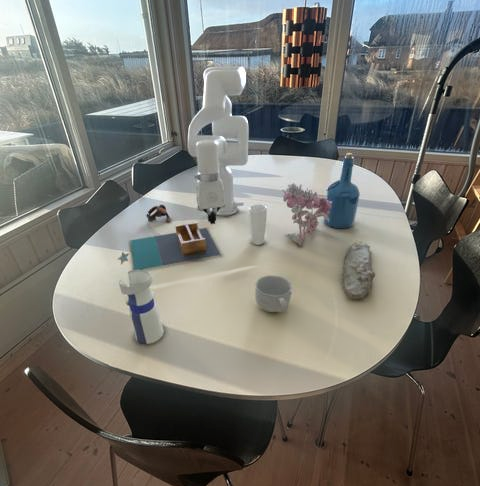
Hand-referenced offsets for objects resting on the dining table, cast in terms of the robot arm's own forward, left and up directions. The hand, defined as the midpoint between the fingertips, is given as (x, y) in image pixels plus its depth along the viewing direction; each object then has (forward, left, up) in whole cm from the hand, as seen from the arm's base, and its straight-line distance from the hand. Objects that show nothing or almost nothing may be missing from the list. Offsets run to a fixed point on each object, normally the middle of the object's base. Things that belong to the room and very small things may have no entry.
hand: (212, 222), depth 127 cm
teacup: (-7, +47, -9) cm, 48 cm away
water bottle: (+30, +44, -9) cm, 55 cm away
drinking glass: (-17, +7, -9) cm, 20 cm away
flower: (-38, +6, -9) cm, 39 cm away
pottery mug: (+18, -28, -9) cm, 35 cm away
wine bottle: (-57, +3, -9) cm, 57 cm away
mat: (+16, -1, -9) cm, 18 cm away
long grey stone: (-42, +38, -9) cm, 57 cm away
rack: (+9, -1, -8) cm, 12 cm away
